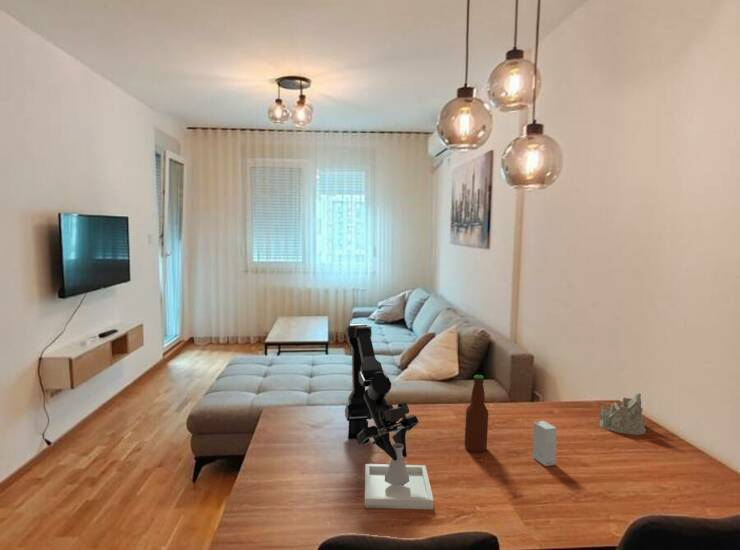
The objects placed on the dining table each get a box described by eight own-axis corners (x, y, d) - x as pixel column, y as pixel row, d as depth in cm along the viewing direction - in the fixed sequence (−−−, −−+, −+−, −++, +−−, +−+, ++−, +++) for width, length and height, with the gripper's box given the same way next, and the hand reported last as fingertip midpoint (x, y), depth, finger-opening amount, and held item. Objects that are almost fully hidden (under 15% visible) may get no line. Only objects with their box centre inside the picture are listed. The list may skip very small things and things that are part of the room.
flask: (412, 475, 133) (413, 442, 132) (405, 489, 127) (407, 453, 126) (388, 470, 136) (389, 437, 135) (380, 483, 129) (381, 448, 128)
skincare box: (556, 464, 147) (558, 427, 146) (544, 466, 146) (546, 429, 145) (542, 455, 153) (544, 420, 152) (531, 457, 152) (533, 421, 150)
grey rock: (646, 422, 182) (646, 385, 180) (645, 440, 168) (645, 399, 166) (601, 415, 190) (601, 380, 188) (597, 432, 176) (597, 393, 174)
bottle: (490, 448, 158) (494, 376, 155) (479, 455, 152) (483, 381, 150) (471, 440, 163) (474, 371, 160) (460, 447, 157) (463, 375, 155)
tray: (364, 507, 122) (364, 498, 122) (365, 471, 140) (365, 463, 140) (433, 509, 123) (433, 500, 122) (425, 473, 140) (425, 465, 140)
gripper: (363, 400, 127) (386, 456, 119) (416, 388, 137) (440, 438, 130) (347, 418, 134) (368, 472, 126) (398, 405, 145) (420, 453, 137)
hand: (400, 458), depth 130 cm, fingers closed on flask, 3 cm apart
